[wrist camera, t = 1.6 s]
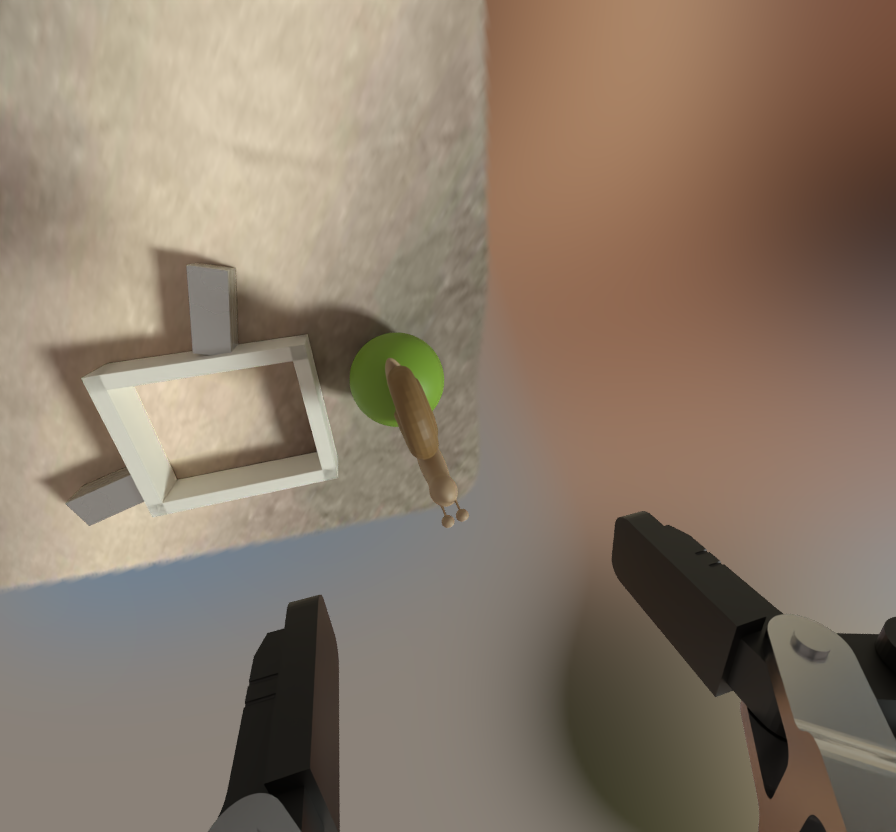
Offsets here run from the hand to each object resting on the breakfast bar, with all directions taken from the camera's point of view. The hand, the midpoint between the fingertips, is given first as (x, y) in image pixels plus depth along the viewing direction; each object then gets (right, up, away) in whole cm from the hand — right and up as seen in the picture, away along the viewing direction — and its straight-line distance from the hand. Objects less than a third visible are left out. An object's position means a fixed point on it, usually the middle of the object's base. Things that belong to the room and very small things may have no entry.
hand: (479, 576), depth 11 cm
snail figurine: (-4, +7, +16) cm, 18 cm away
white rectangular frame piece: (-16, +6, +13) cm, 21 cm away
